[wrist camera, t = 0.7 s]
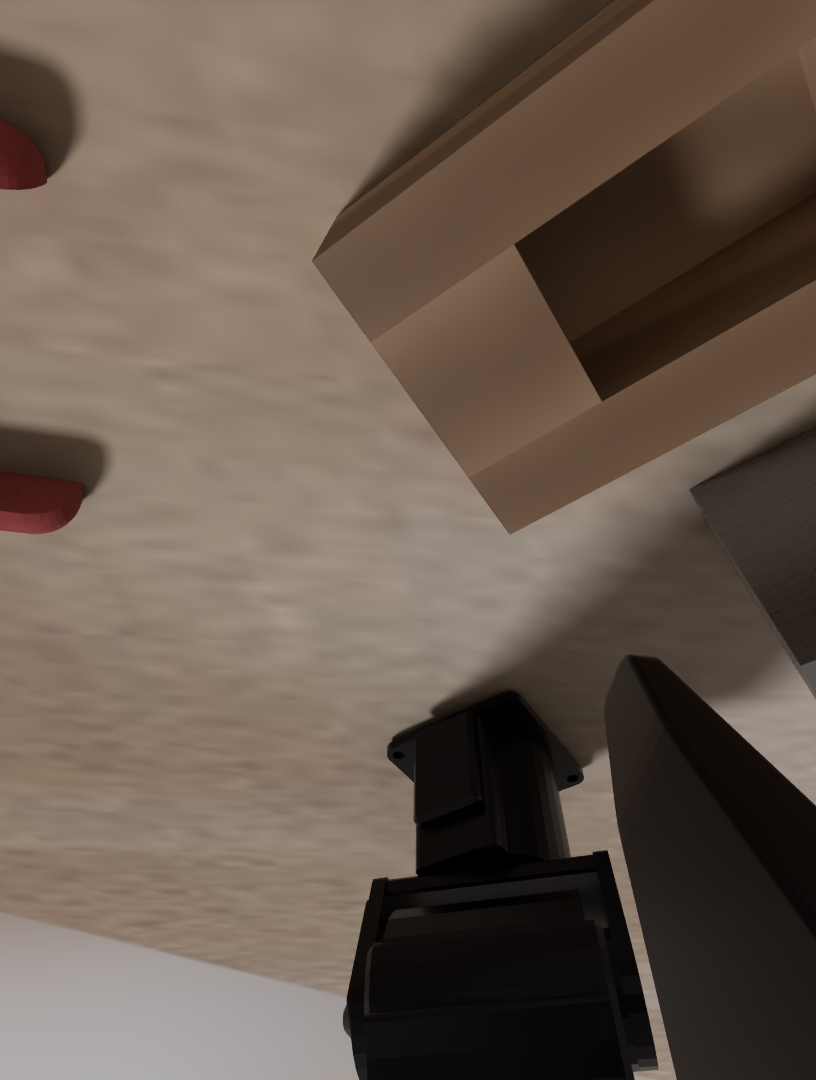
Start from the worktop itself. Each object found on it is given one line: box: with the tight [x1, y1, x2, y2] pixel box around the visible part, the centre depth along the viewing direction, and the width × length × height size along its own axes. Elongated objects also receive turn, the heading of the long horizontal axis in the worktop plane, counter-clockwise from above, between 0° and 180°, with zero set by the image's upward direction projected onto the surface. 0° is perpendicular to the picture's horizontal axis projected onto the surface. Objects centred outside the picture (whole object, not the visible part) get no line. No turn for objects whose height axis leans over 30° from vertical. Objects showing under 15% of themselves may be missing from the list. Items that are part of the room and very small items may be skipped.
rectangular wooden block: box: [312, 0, 816, 534], centre depth 15 cm, size 8×14×5 cm, turn 124°
